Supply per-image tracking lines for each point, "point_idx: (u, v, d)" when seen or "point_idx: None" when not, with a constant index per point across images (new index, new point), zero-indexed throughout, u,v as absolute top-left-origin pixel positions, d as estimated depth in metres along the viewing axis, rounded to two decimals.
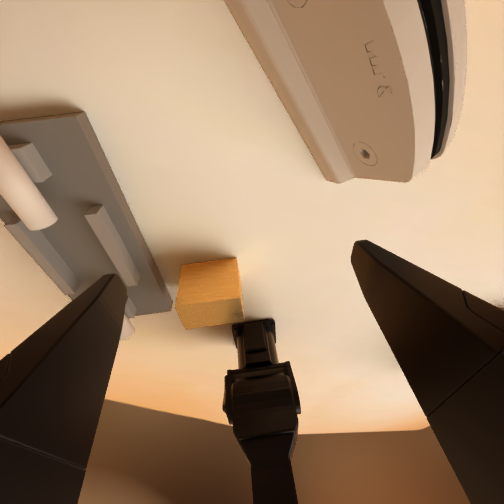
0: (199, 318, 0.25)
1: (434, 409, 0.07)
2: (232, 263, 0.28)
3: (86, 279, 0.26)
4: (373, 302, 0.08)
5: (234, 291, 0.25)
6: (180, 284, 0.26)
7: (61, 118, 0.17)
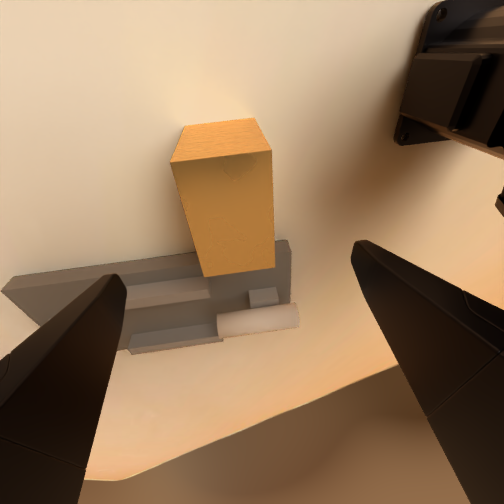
0: (244, 245, 0.13)
1: (434, 409, 0.07)
2: None
3: (215, 317, 0.23)
4: (373, 302, 0.08)
5: None
6: None
7: (11, 299, 0.19)
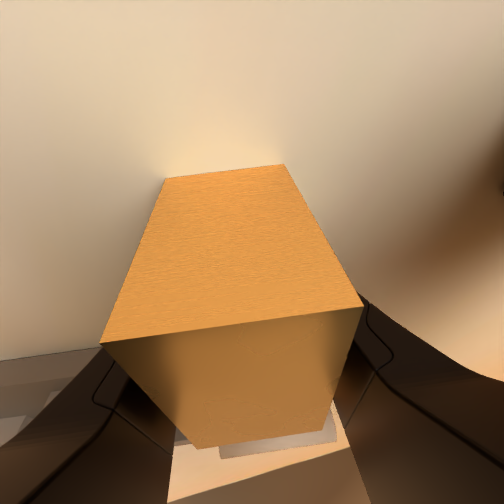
0: (272, 418, 0.07)
1: (347, 422, 0.07)
2: None
3: None
4: None
5: None
6: None
7: None
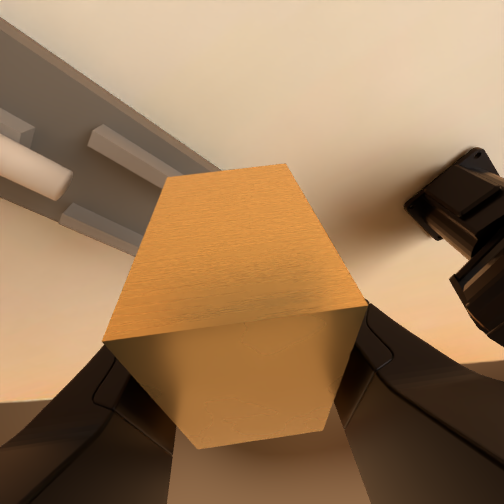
0: (273, 418, 0.07)
1: (347, 422, 0.07)
2: None
3: None
4: None
5: None
6: None
7: None
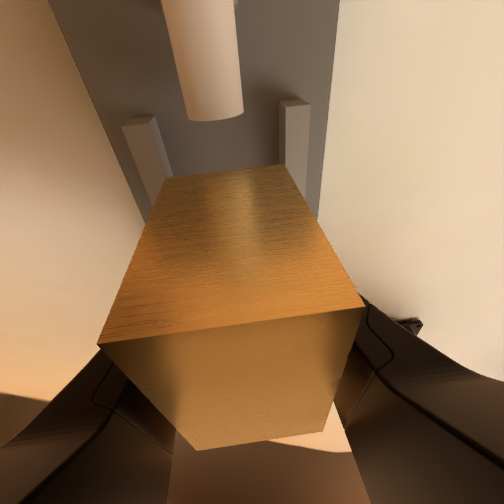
0: (272, 419, 0.07)
1: (347, 422, 0.07)
2: None
3: None
4: None
5: None
6: None
7: None
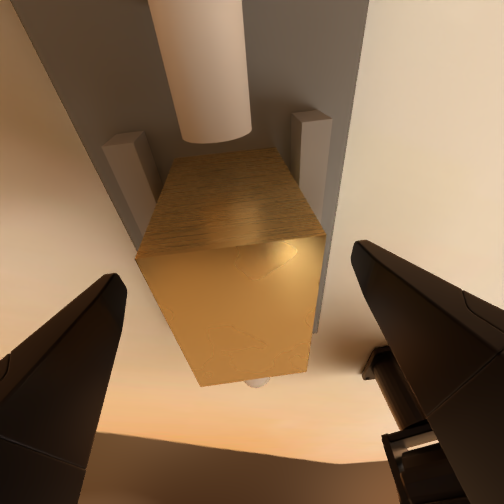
0: (263, 352, 0.08)
1: (434, 409, 0.07)
2: None
3: None
4: (373, 302, 0.08)
5: None
6: None
7: None
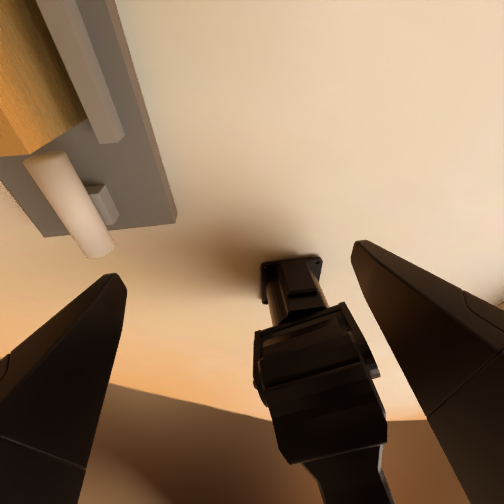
0: None
1: (434, 409, 0.07)
2: None
3: None
4: (373, 302, 0.08)
5: None
6: None
7: None
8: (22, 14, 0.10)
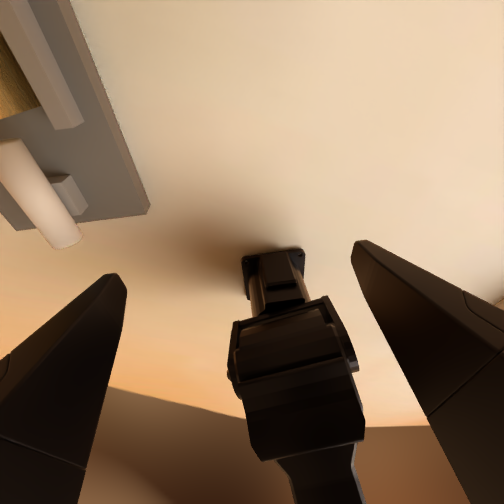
0: None
1: (434, 408, 0.07)
2: None
3: None
4: (373, 302, 0.08)
5: None
6: None
7: None
8: None
